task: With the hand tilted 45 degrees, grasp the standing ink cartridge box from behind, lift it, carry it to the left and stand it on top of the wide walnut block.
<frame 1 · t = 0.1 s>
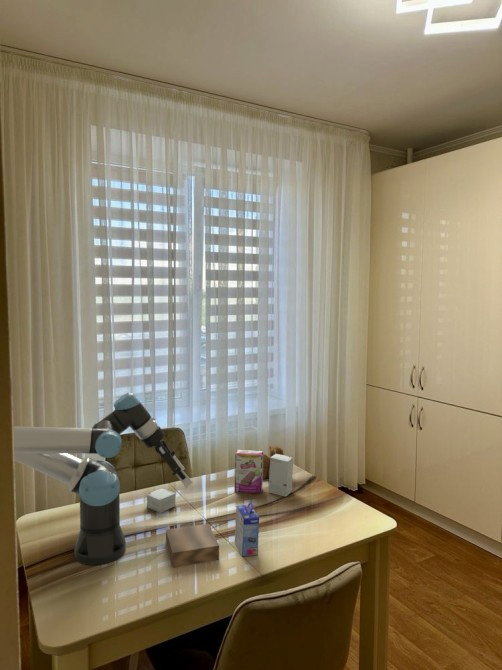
hand: (185, 477, 166), 15 cm above the table, tool tilted 35°, fingers open, 13 cm apart
stuffed squirrel: (270, 476, 208), on the table
candy bar box: (248, 491, 192), on the table
ink cartridge box: (246, 548, 149), on the table
walnut block: (191, 552, 147), on the table
skincare box: (280, 492, 192), on the table
small box: (161, 507, 177), on the table
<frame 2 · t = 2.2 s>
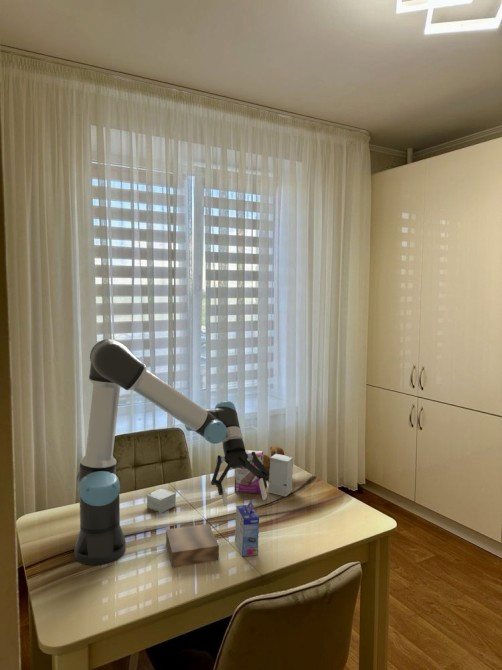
hand: (245, 501, 154), 12 cm above the table, tool tilted 45°, fingers open, 13 cm apart
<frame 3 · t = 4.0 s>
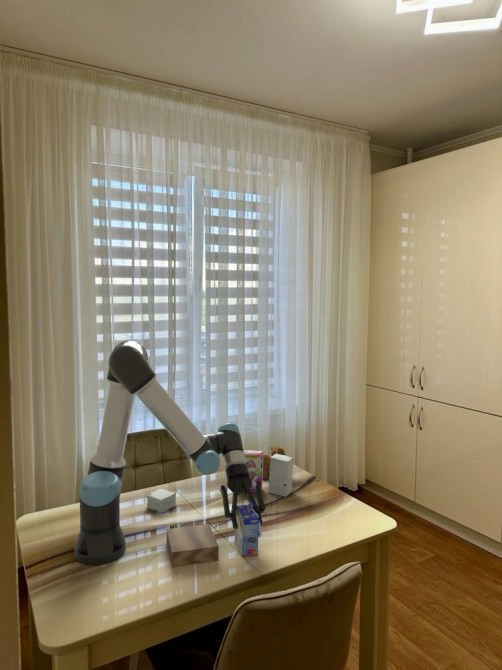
hand: (250, 537, 145), 5 cm above the table, tool tilted 45°, fingers closed on ink cartridge box, 6 cm apart
ink cartridge box: (246, 548, 149), on the table, touching gripper
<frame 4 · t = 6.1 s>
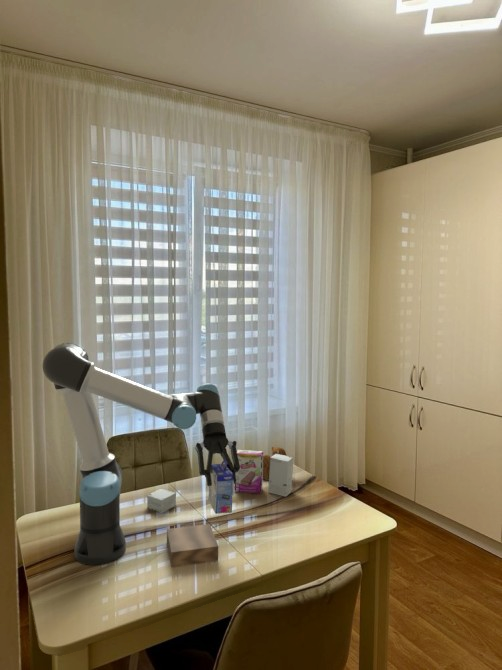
hand: (223, 494, 143), 19 cm above the table, tool tilted 45°, fingers closed on ink cartridge box, 5 cm apart
ink cartridge box: (220, 507, 147), point 14 cm above the table, touching gripper
when the fingers open (12 cm above the table, at t = 8.4 s): ink cartridge box drops 2 cm, resting on walnut block.
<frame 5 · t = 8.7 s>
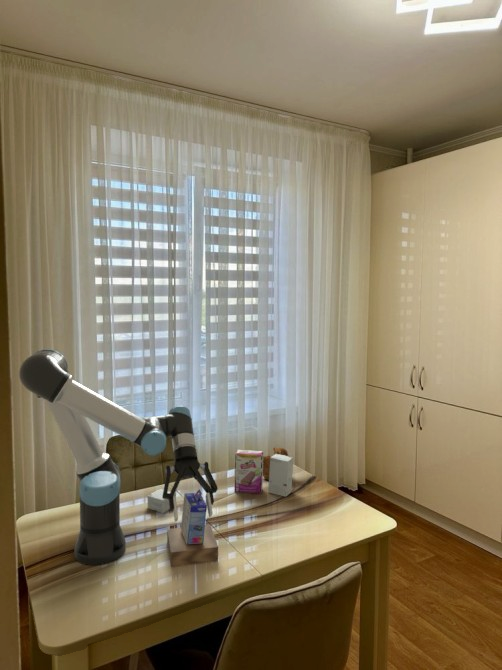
hand: (193, 517, 143), 12 cm above the table, tool tilted 45°, fingers open, 10 cm apart
ink cartridge box: (192, 537, 147), point 4 cm above the table, touching walnut block
walnut block: (191, 553, 147), on the table, touching ink cartridge box
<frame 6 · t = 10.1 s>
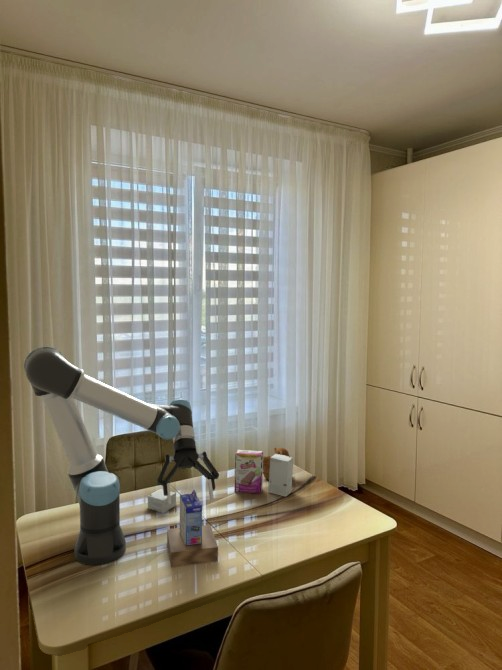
hand: (191, 502, 150), 14 cm above the table, tool tilted 45°, fingers open, 13 cm apart
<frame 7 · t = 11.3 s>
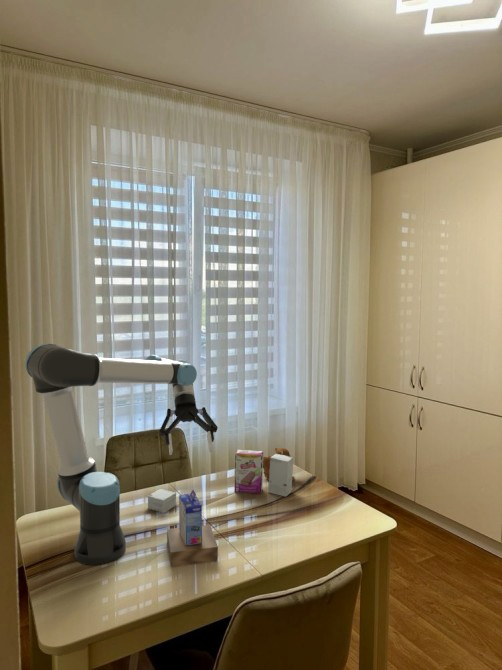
hand: (191, 451, 159), 27 cm above the table, tool tilted 45°, fingers open, 13 cm apart
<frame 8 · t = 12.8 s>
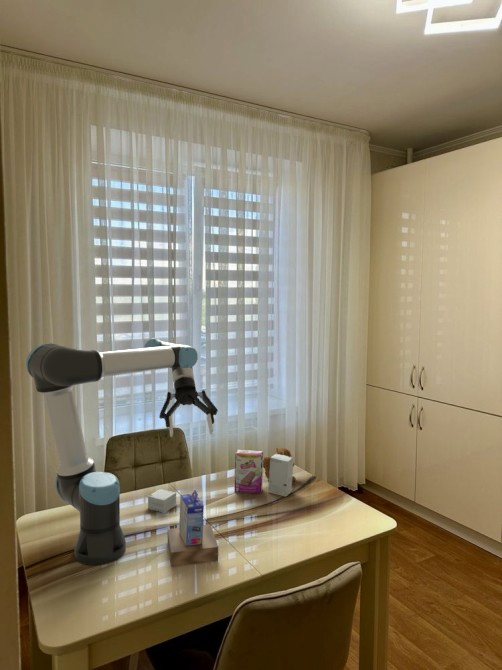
hand: (191, 433, 160), 33 cm above the table, tool tilted 45°, fingers open, 13 cm apart
ink cartridge box: (191, 538, 146), point 4 cm above the table
walnut block: (191, 553, 147), on the table
at the end: ink cartridge box inside the target area on the walnut block (0.5 cm from its centre), point 4.8 cm above the walnut block's base; ink cartridge box tilted 0°; ink cartridge box touching walnut block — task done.
